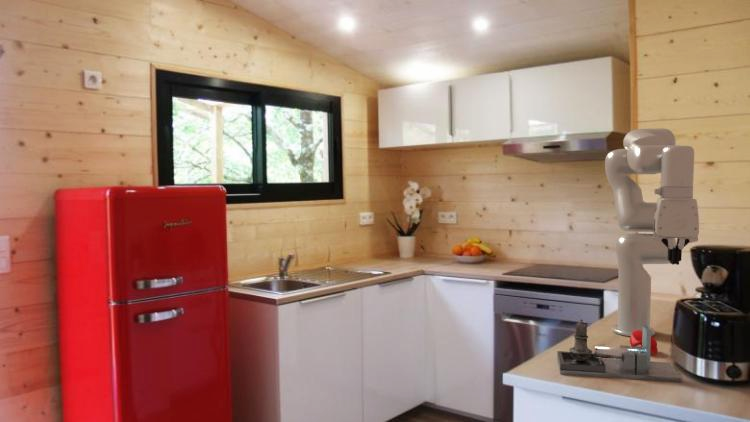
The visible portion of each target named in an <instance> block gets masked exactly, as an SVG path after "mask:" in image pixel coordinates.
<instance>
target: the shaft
mask: <svg viewBox="0 0 750 422" xmlns="http://www.w3.org/2000/svg"><path fill="white" fill-rule="evenodd" d="M650 349H651V330H650V329H649V328H648V327H647V326H643V330H642V349H639V348H621V347H620V346H619V347H618V346H599V345H594V347H593V353H594V357H595V358H602V359H618V360H620V359H624V352H634V354H635V352H636V353H646V354H647V369H649V370H650V361H651V351H650Z"/></svg>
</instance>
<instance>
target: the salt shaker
mask: <svg viewBox="0 0 750 422" xmlns="http://www.w3.org/2000/svg"><path fill="white" fill-rule="evenodd" d="M574 327H575V330H574V331H575V333H574V335H573V337H574V345H573V347H570V348H568V352H570V354H571V356H572V358H573V359H575V360H572V361H571V362H570V363H575V364H591V363H590V362H588V361H587V360H588V359H590V357H591V353H594V350H592V349H590V348H588V347H589V346H588V338H589V336H588V335H587V334H588V325H587V324H586V323H585V322H583V319H582V318H580V320H579V321H578V322H576V324H575V326H574Z"/></svg>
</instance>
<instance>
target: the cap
mask: <svg viewBox="0 0 750 422" xmlns="http://www.w3.org/2000/svg"><path fill="white" fill-rule="evenodd" d="M629 337H630V338H629V344H630V347H631V346H640V347H642V331H641V330H636V331H634V332H633V333H632V336H629ZM658 352H659V351H658V343H657V341H656V339H655V337H654V336H651V349H650V353H652V354H653V355H655V356H656V355H658Z"/></svg>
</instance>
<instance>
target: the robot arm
mask: <svg viewBox="0 0 750 422" xmlns="http://www.w3.org/2000/svg"><path fill="white" fill-rule="evenodd" d="M676 142H677V141H676V137H675V135H674V133H673V131H672V130H670V129H668V128H638V129H637V128H636V129H633V130H631V131H629V132H627V134H625V136H624V138H623V140H622V143H623V144H622V145H623V148H619V149H618V148H617V149H614V150H611V151H609V152H608V153H607V154H606V157H605V160H604V169H605V175H606V178H607V182H608V184H609V185H610V188H611V189H612V192H613V197H614V204H615V213H616V220H617V225H618V227H619V228H620V230H622V231H624V232H627V234H623V235H621V236H619V237H618V238H617V240H616V242H615V250H616V252H615V253H616V259H617V265H618V267H617V269H618V273H617V274H618V279H617V281H618V282H617V283H618V285H617V287H618V289H617V293H618V294H617V295H618V296H617V324H614V325H613V326H612V327H611V328H612V329H611V330H612V332H614V333H615V334H617V335H622V336H626V337H631V336H632V333H633V332H634V331H636V330H641V331H642V330H643V326H647V327H648V328H649V329H650V330H651V336H652V337H654V335H656V329H654V328H653V327H651V307H652V306H651V305H652V303H651V302H652V301H651V299H652V293H651V292H652V278H651V275H650V274H649V273H648V271H647V269H645V267H644V266H643V265H666V264H667V265H668V264H671V265H673V266H674V265H677V266H679V265H680V262H682V255H683V254H682V253H683V251H682V250H683V249H684V248H685V247H686V246H687V245H688V244H692V243H696V242H698V241H699V233H700V219H699V217H700V216H699V208H698V207H699V206H698V201H697V199H696V198H694V176H695V175H694V174H695V172H694V171H695V168H694V167H695V149H694V148H693V147H692V146H690V145H678V144H677V145H676ZM657 174H660V186H659V188H656V189H654V195H658V196H659V198H657V199H656V202H647V201H646V202H645V200H644V198H643V190H642V189H641V187H640V186H639V184H638V183H637V182H636V181H635V180H634V179H633V178H632V177H630V176H629V175H657ZM628 232H631V233H628ZM632 232H633V233H632Z"/></svg>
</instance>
